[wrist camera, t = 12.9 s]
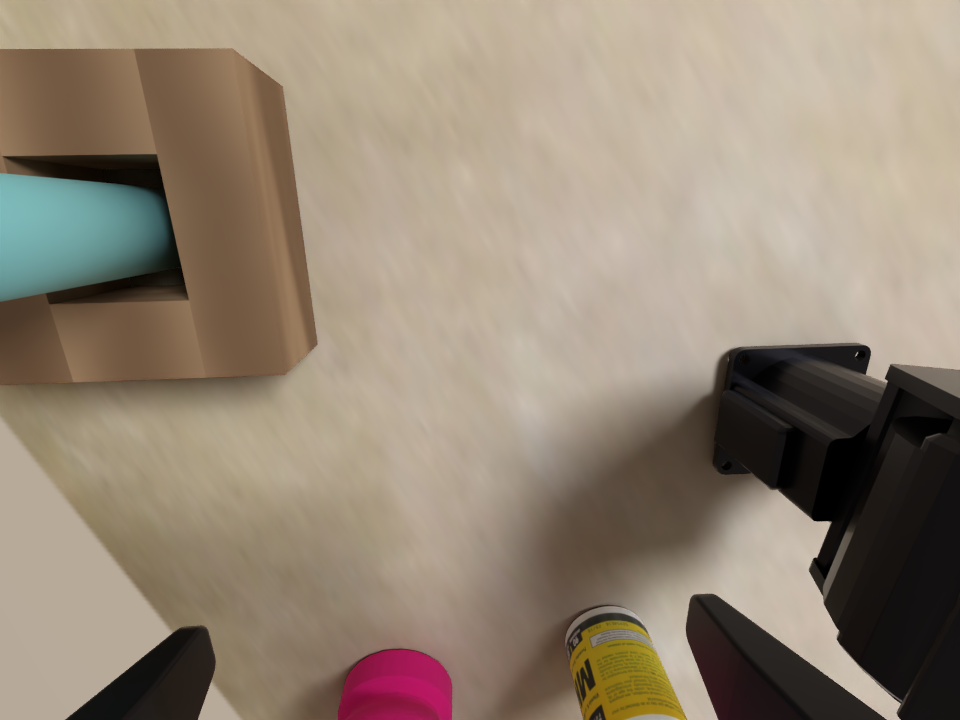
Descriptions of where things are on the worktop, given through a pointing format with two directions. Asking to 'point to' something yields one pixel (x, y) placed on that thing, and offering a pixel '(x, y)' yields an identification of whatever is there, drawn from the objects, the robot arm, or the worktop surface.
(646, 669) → the supplement bottle
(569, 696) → the worktop surface
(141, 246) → the peg
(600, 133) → the worktop surface
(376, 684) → the pepper mill
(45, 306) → the socket block
